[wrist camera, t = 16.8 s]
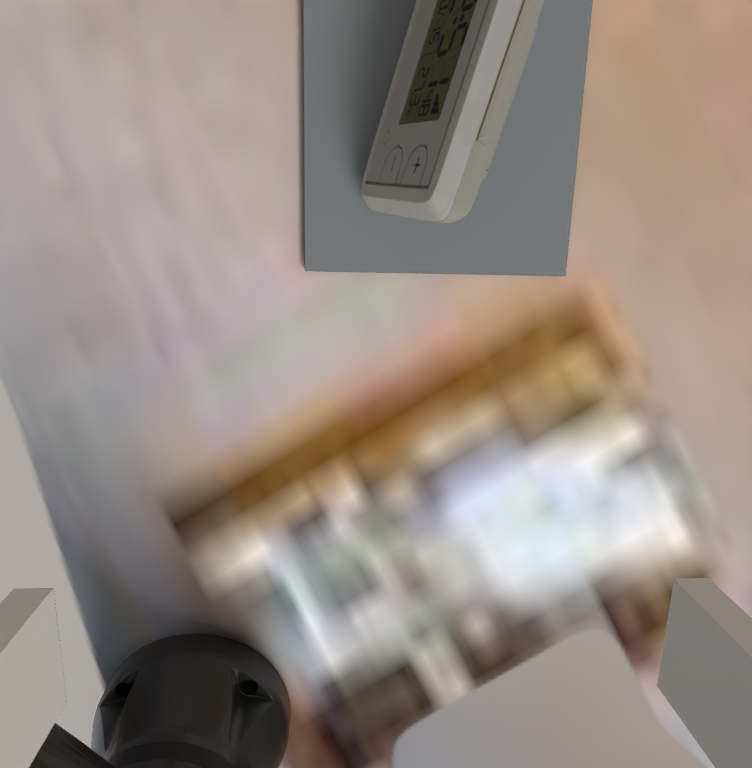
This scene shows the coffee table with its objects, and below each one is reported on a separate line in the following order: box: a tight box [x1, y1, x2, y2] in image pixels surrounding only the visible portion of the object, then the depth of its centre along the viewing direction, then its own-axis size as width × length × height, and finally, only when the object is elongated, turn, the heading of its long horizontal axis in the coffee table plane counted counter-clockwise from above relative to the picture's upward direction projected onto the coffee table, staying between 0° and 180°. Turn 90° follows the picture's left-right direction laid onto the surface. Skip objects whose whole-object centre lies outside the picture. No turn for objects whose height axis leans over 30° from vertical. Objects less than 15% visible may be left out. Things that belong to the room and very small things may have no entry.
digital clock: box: [360, 0, 545, 223], centre depth 33 cm, size 16×9×11 cm, turn 150°
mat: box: [303, 0, 593, 276], centre depth 38 cm, size 22×18×1 cm
